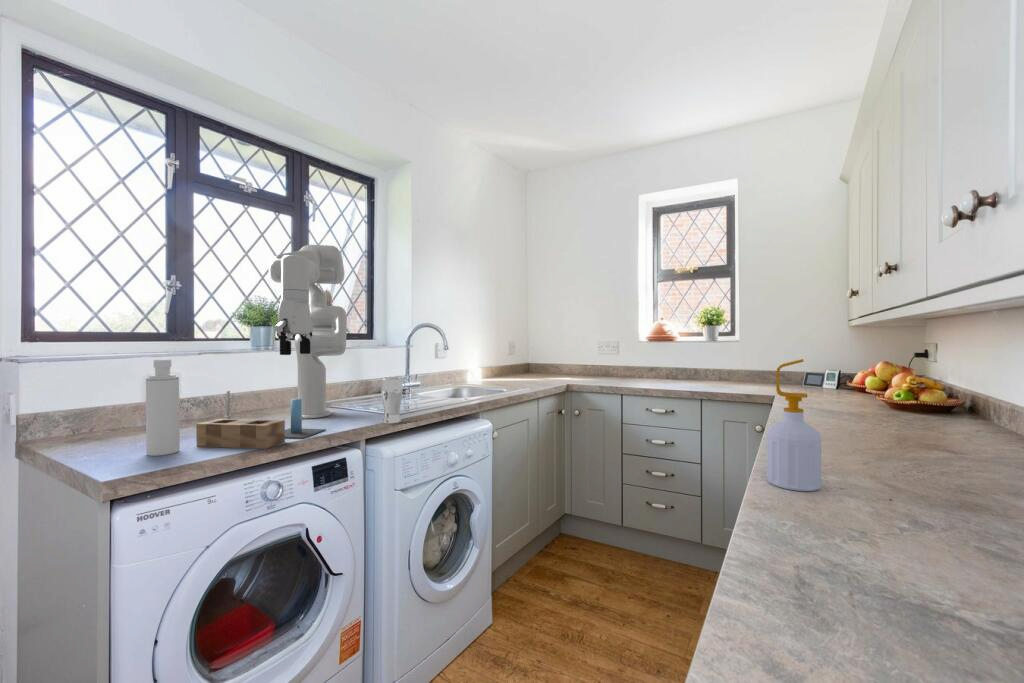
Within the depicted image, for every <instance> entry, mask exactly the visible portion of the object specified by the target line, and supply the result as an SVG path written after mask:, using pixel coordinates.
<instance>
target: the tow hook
mask: <svg viewBox="0 0 1024 683" xmlns="http://www.w3.org/2000/svg"><path fill="white" fill-rule="evenodd" d="M230 392H231V391H230V390H227V391H226V397H225V412H224V414H225V416H224V419H231V397H230V396H231V395H230V394H231V393H230Z"/></svg>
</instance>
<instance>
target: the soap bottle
mask: <svg viewBox="0 0 1024 683" xmlns="http://www.w3.org/2000/svg"><path fill="white" fill-rule="evenodd" d="M803 362H804V359H803V358H802V359H798V360H793V361H790V362H789V361H788V362H784V363H782V364H780V365H779V366H778V367H777V369H776V381H775V382H776V384H775V385H776V394H777V395H779V396H780V397H784V398H785V399H784V400H785V401H787V402H788V407H783V418H782V419H781V420H780V421H779V422H776V423H774V424H773V425H771V426H770V427H768V429H767V431H766V480H767V482H768V483H769V484H770V485H773V486H774V487H778V488H780V489H784V490H790V491H796V492H814V491H819V490H820V488H821V487H822V436H821V433H820V432H819V431H818V430H817V429H816V428H814V427H813V426H812V425H810V424H808V423H807V422H806V421H804V420H805V419H804V408H800V407H799V402H802V401H803V400H802V399H803V398H804V399H806V398H808V394H807V393H803V392H802V393H801V392H784V391H782V390H781V388H780V371H781V369H783V368H785V367H788V366H792V365H795V364H801V363H803Z"/></svg>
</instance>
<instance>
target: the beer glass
mask: <svg viewBox="0 0 1024 683" xmlns="http://www.w3.org/2000/svg"><path fill="white" fill-rule="evenodd" d="M402 378H403V377H381V387H380V389H381V390H380V392H381V393H380V395H381V402H382V406H383V407H382V408H383V417H382V423H383V424H386V425H392V424H393V425H394V424H400V423H402V418H401V404H402V398H403V379H402Z"/></svg>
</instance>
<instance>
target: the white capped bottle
mask: <svg viewBox="0 0 1024 683" xmlns="http://www.w3.org/2000/svg"><path fill="white" fill-rule="evenodd" d="M171 367H172V359H171V358H170V359H169V358H167V359H165V358H164V359H162V358H161V359H153V368H154V374H153V375H152V374H151V375H148V378H145V435H146V436H145V452H146V456H150V457H153V456H154V457H156V456H159V457H160V456H165V455H166V456H167V455H172V454H175V453H178V452H179V451H180V444H181V443H180V438H181V437H180V377H179V376H178V377H177V375H176V374H171Z"/></svg>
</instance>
